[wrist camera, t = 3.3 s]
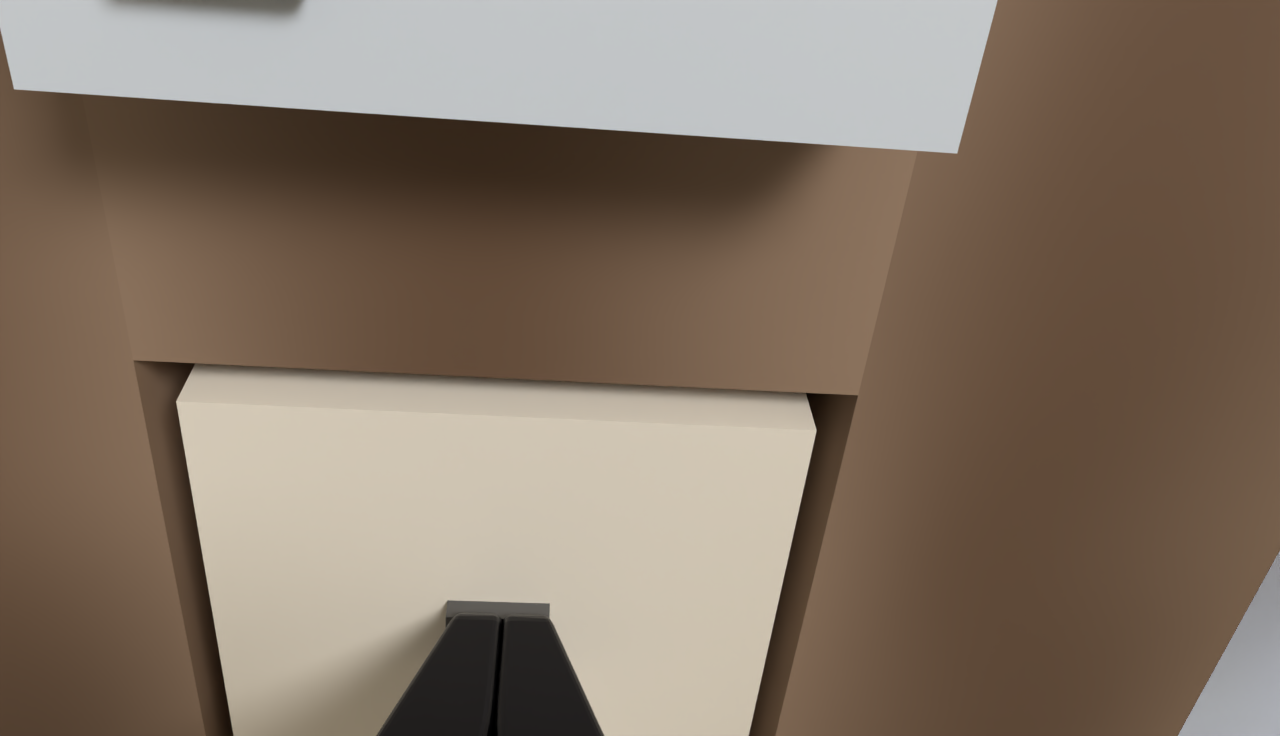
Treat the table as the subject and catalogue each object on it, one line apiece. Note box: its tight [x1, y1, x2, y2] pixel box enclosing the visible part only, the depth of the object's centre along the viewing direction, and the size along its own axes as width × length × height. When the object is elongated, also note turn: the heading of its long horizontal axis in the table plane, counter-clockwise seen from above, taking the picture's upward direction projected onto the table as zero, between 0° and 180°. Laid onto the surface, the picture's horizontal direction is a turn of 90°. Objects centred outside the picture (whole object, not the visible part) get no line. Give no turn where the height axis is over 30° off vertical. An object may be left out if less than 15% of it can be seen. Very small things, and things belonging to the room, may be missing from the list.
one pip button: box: [176, 363, 817, 736], centre depth 11 cm, size 5×5×3 cm
